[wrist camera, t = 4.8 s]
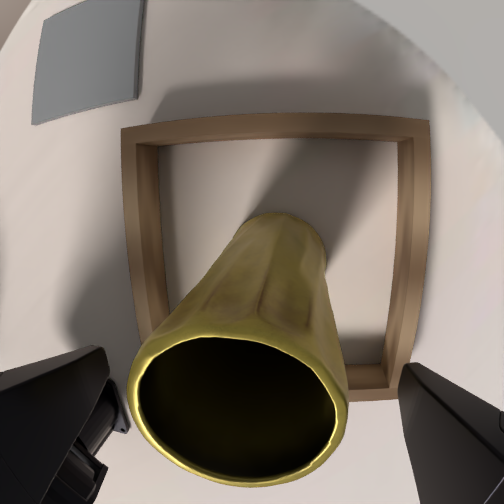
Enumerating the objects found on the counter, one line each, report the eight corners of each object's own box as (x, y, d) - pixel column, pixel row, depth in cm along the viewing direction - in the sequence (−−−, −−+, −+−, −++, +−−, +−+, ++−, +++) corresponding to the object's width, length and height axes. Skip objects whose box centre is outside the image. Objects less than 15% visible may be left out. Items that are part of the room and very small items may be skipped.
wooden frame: (391, 374, 21) (400, 398, 18) (165, 365, 23) (150, 387, 20) (411, 127, 17) (429, 120, 14) (143, 133, 19) (120, 128, 17)
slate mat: (137, 99, 19) (133, 97, 18) (36, 125, 20) (31, 124, 20) (146, -16, 17) (142, -19, 16) (47, 22, 18) (43, 20, 17)
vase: (329, 215, 19) (399, 312, 5) (321, 309, 20) (339, 502, 7) (229, 209, 20) (88, 286, 6) (228, 302, 21) (133, 472, 8)
